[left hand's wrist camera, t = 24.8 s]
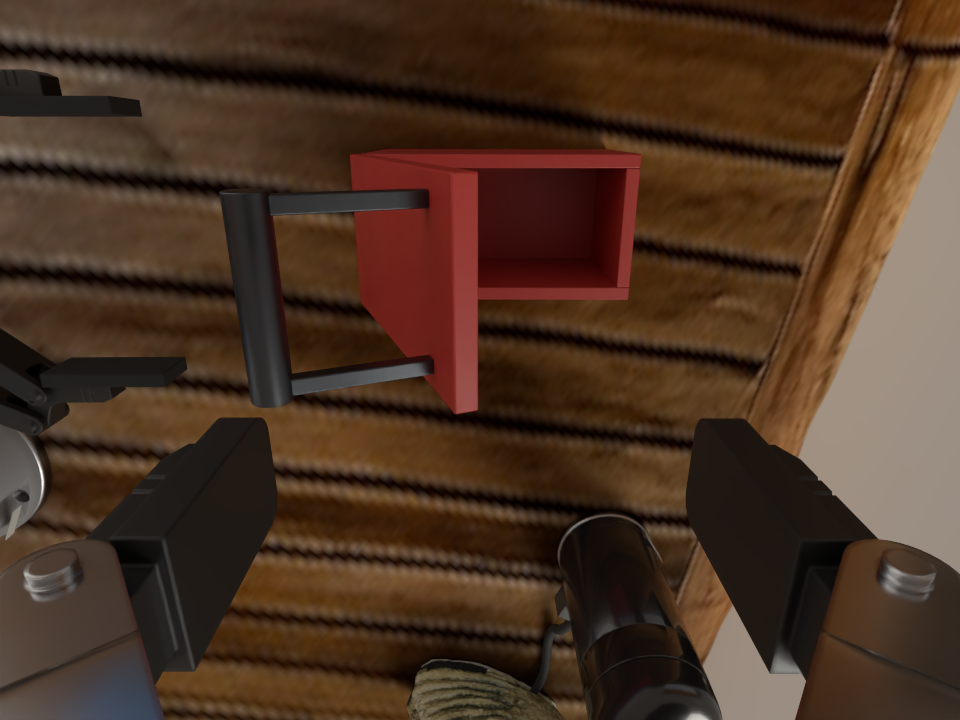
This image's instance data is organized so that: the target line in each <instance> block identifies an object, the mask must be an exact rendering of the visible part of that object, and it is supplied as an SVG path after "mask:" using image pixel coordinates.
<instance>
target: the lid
mask: <svg viewBox="0 0 960 720" xmlns="http://www.w3.org/2000/svg"><path fill="white" fill-rule="evenodd" d="M350 163H351V176H352V190H353V191H326V192H297V193H270V191H269V190H267V189H231V190H223V191H220V199H221V206H222V212H223V219H224V225H225V232H226V239H227V245H228V252H229V258H230V265H231V272H232V278H233V285H234V291H235V298H236V305H237V311H238V318H239V324H240V331H241V338H242V344H243V351H244V357H245V364H246V371H247V377H248V384H249V390H250V397H251V402H252V404H253V405H255V406H257V407H262V408H271V407H278V406H282V405H285V404H287V403H289V402H291V401H292V400H293V399H294V397H295V395H300V394H307V393H314V392H320V391H327V390H333V389H340V388H346V387H353V386H359V385H366V384H373V383H379V382H386V381H392V380H399V379H405V378H412V377H419V376H423V377H424V378H425V379H426V380H427V381H428V383H429V384H430V385H431V386H432V387H433V389H434V390H435V391H436V392H437V393H438V395H439V396H440V397H441V398H442V399H443V400H444V402H445V403H446V404H447V405H448V406H449V408H450V409H451V410H452V411H453V412H454V414H460V413H465V412H471V411H476V410H478V172H476V171H472V170H465V169H459V168H452V167H446V166H440V165H433V164H427V163H420V162H414V161H407V160H401V159H394V158H388V157H381V156H375V155H368V154H351V155H350ZM339 212H354V217H355V231H356V244H357V258H358V271H359V285H360V299H361V303H362V304H363V305H364V307H365V308H366V309H367V310H368V311H369V312H370V314H371V315H372V316H373V317H374V318H375V320H376V321H377V322H378V323H379V324H380V326H381V327H382V328H383V329H384V330H385V332H386V333H387V334H388V335H389V336H390V337H391V339H392V340H393V341H394V342H395V343H396V345H397V346H398V347H399V348H400V349H401V351H402V352H403V353H404V354H405V355H406V356H407V358H401V359H394V360H387V361H380V362H372V363H365V364H358V365H351V366H344V367H337V368H329V369H322V370H315V371H308V372H301V373H294V374H292V370H291V362H290V353H289V345H288V337H287V329H286V321H285V312H284V304H283V296H282V288H281V280H280V271H279V263H278V255H277V247H276V239H275V231H274V222H273V216H276V215H297V214H318V213H339Z"/></svg>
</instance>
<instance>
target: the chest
mask: <svg viewBox="0 0 960 720" xmlns="http://www.w3.org/2000/svg"><path fill="white" fill-rule="evenodd" d="M363 154H368V155H375V156H381V157H388V158H394V159H401V160H407V161H414V162H420V163H427V164H433V165H440V166H446V167H452V168H459V169H465V170H472V171H476V172H478V300H627V299H628V293H629V282H630V271H631V260H632V250H633V239H634V228H635V217H636V207H637V196H638V185H639V175H640V169H639V168H640V163H641V154H637V153H629V152H622V151H615V150H608V149H384V150H378V151H373V152H368V153H363Z"/></svg>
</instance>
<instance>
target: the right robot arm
mask: <svg viewBox="0 0 960 720" xmlns="http://www.w3.org/2000/svg"><path fill="white" fill-rule="evenodd" d="M0 116H142V113H141V107H140V102H139V100H134V99H126V98H119V97H112V96H62V93H61V89H60V84H59V79H58V77H55V76H53V75H50V74H48V73H43V72H37V71H32V70H0ZM186 370H187V365H186V359H185V357H87V358H70V359H68V360H66V361H64V362H62V363H60V364H58V365H56V364H54V363H53V362H51V361H50V360H48V359H47V358H45V357H44V356H42V355H41V354H39V353H37V352H36V351H34V350H33V349H31V348H30V347H28V346H27V345H25V344H24V343H22V342H21V341H19V340H17V339H16V338H14V337H13V336H11V335H10V334H8V333H7V332H5V331H4V330H2V329H1V328H0V537H1V536H3V535H6V534H7V535H6V539H8V538H9V537H10V536H11V535H12V534H13V533H14V531H15V529H16V528H18V527H19V526H21V525H22V524H24V523H25V522H26V521H27V520H29V519H30V518H31V517H32V516H33V515H34V514H36V513H37V512H38V511H39V510H40V509H41V507H42V506H43V505H44V503H45V502H46V500H47V498H48V495H49V492H50V488H51V479H52V477H51V468H50V463H49V460H48V456H47V454H46V452H45V449H44V447H43V446H42V444H41V442H40V440H39V439H38V437H37V436H36V435H38V434H40V433H42V432H43V431H45V430H46V429H48V428H49V427H51V426H52V425H54V424H55V423H57V422H58V421H60V420H61V419H62V418H64V417H65V416H67V415H68V414H69V406H68V404H67V403H66V402H105V401H108V400H110V399H113V398H114V397H115V396H117V395H118V394H120V393H121V392H122V391H124V390H125V389H126V388H125V387H165V386H166V385H168V384H169V383H170V382H172V381H173V380H174V379H175V378H177V377H178V376H179V375H180V374H182V373H183V372H184V371H186ZM6 539H5V540H6Z"/></svg>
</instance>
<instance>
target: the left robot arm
mask: <svg viewBox="0 0 960 720" xmlns="http://www.w3.org/2000/svg"><path fill="white" fill-rule="evenodd" d="M132 491H133V492H132V494H128V495H127V496H126V498H125V499H124V500H123V501H122V502H121V503H120V504H119V505H118V506H117V507H116V508H115V509H114V510H113V511H112V512H111V513H110V514H109V515H108V516H107V517H106V518H105V519H104V520H103V521H102V522H101V523H100V524H99V525H98V526H97V527H96V529H95V530H94V531H93V532H92V533H91V534H90V535H89V536H88V537H87V538H86V539H80V540H72V541H67V542H62V543H59V544H55V545H52V546H49V547H46V548H43V549H41V550H38V551H36V552H34V553H32V554H30V555H28V556H26V557H24V558H22V559H20V560H19V561H17V562H16V563H14V564H13V565H11V566H10V567H8V568H7V569H6V570H5V571H3V572H2V573H1V574H0V720H165V719H164V715H163V712H162V708H161V705H160V701H159V698H158V694H157V691H156V687H155V684H156V683H157V681H158V679H159V678H160V676H161V674H162V672H163V671H195V670H196V668H197V666H198V664H199V662H200V660H201V659H202V657H203V655H204V653H205V651H206V649H207V647H208V645H209V643H210V641H211V640H212V638H213V636H214V634H215V632H216V630H217V628H218V626H219V624H220V623H221V621H222V619H223V617H224V615H225V613H226V611H227V609H228V607H229V606H230V604H231V602H232V600H233V598H234V596H235V594H236V592H237V590H238V588H239V587H240V585H241V583H242V581H243V579H244V577H245V575H246V573H247V571H248V570H249V568H250V566H251V564H252V562H253V560H254V558H255V556H256V554H257V553H258V551H259V549H260V547H261V545H262V543H263V541H264V539H265V537H266V535H267V534H268V532H269V530H270V528H271V526H272V524H273V521H274V518H275V514H276V508H277V487H276V480H275V473H274V466H273V459H272V452H271V445H270V438H269V432H268V427H267V424H266V422H265V420H264V419H263V418H219V419H218V420H216V422H215V423H214V424H213V425H212V426H211V427H210V428H209V429H208V430H207V431H206V433H205V434H204V435H203V436H202V437H201V438H200V439H199V440H198V441H197V442H196V443H195V444H188V445H186V446H184V447H183V448H181V449H179V450H177V451H176V452H174V453H172V454H170V455H169V456H167V457H165V458H163V459H162V460H161V461H160V462H159V463H158V464H157V465H156V467H155V468H154V469H153V470H152V471H151V472H150V473H149V474H148V475H147V478H146V479H143V480H142V481H141V482H140V483H139V484H138V485H137V486H136V487H135V488H134V489H133V490H132ZM686 509H687V515H688V519H689V522H690V525H691V527H692V529H693V531H694V532H695V534H696V536H697V538H698V540H699V542H700V544H701V546H702V547H703V549H704V551H705V553H706V555H707V557H708V559H709V561H710V562H711V564H712V566H713V568H714V570H715V572H716V574H717V575H718V577H719V579H720V581H721V583H722V585H723V587H724V589H725V590H726V592H727V594H728V596H729V598H730V600H731V602H732V604H733V605H734V607H735V609H736V611H737V613H738V615H739V617H740V618H741V620H742V622H743V624H744V626H745V628H746V630H747V631H748V633H749V635H750V637H751V639H752V641H753V643H754V645H755V646H756V648H757V650H758V652H759V654H760V656H761V658H762V660H763V661H764V663H765V665H766V667H767V669H768V671H769V673H770V674H802V675H803V676H804V678H805V680H806V684H805V687H804V691H803V694H802V698H801V701H800V705H799V708H798V712H797V715H796V719H795V720H960V574H959V573H958V572H957V571H955V570H954V569H953V568H951V567H950V566H949V565H947V564H946V563H944V562H943V561H941V560H940V559H938V558H936V557H934V556H932V555H930V554H928V553H926V552H924V551H922V550H919V549H917V548H914V547H911V546H908V545H905V544H901V543H897V542H893V541H888V540H879V539H878V538H877V537H876V536H875V535H874V534H873V533H872V532H871V531H870V530H869V529H868V528H867V527H866V526H865V525H864V524H863V523H862V522H861V521H860V520H859V519H858V518H857V517H856V516H855V515H854V514H853V513H852V512H851V511H850V510H849V509H848V508H847V507H846V505H845V504H843V502H842V501H841V500H840V499H839V498H838V497H837V496H834V495H832V491H831V490H830V489H829V488H828V487H827V486H826V485H825V484H824V483H823V482H822V481H818V477H817V476H816V475H815V474H814V473H813V472H812V471H811V470H810V469H809V468H808V467H807V466H806V465H805V464H804V462H802V460H800V459H799V458H797V457H795V456H793V455H792V454H790V453H788V452H786V451H785V450H783V449H781V448H779V447H778V446H776V445H768V444H767V442H766V441H765V440H764V439H763V438H762V437H761V436H760V435H759V434H758V433H757V432H756V430H755V429H754V428H753V427H752V426H751V425H750V424H749V423H748V422H747V421H746V420H745V419H700V420H699V422H698V423H697V426H696V429H695V434H694V441H693V448H692V454H691V461H690V468H689V475H688V482H687V489H686ZM653 548H654V549H653ZM654 550H655V551H654ZM655 552H656V553H657V555H658V556H659V558H660V560H661V557H660V555H659V553H658V552H657V550H656V548H655V547H654V545H653V544H652V541H651V538H650V536H649V534H648V532H647V530H646V528H645V527H644V526H643V525H642V523H640V522H639V521H638V520H637V519H635V518H634V517H632V516H630V515H628V514H625V513H622V512H618V511H597V512H593V513H589V514H586V515H584V516H582V517H580V518H578V519H577V520H575V521H574V522H572V523H571V524H570V525H569V526H568V527H567V528H566V529H565V531H564V532H563V534H562V535H561V537H560V539H559V542H558V546H557V557H558V563H559V567H560V569H561V573H562V580H563V585H562V587H561V588H560V590H559V591H558V593H557V594H556V596H555V603H556V609H557V615H558V617H560V618H562V619H565V620H566V621H565V622H564V623H562V624H560V625H558V624H552V625H551V626H550V627H549V628H548V630H547V631H546V634H545V638H544V642H543V650H542V661H541V667H540V671H539V674H538V677H537V679H536V681H535V682H534V684H533V685H532V687H531V689H530V692H532V693H534V694H535V695H537V694H538V693H539V692H540V690H541V688H542V687H543V685H544V683H545V681H546V678H547V675H548V671H549V666H550V659H551V649H552V642H553V639H554V636H555V635H556V634H559V635H563V634H565V633H567V632H568V631H570V630H571V629H572V634H573V640H574V645H575V650H576V656H577V661H578V667H579V672H580V677H581V682H582V687H583V693H584V698H585V704H586V709H587V715H588V720H722V715H721V711H720V708H719V705H718V702H717V700H716V697H715V695H714V692H713V690H712V688H711V685H710V683H709V680H708V678H707V676H706V673H705V671H704V668H703V666H702V664H701V661H700V659H699V656H698V654H697V652H696V650H695V647H694V645H693V642H692V640H691V637H690V635H689V633H688V630H687V628H686V625H685V623H684V621H683V618H682V616H681V613H680V611H679V609H678V606H677V604H676V601H675V599H674V597H673V594H672V592H671V589H670V587H669V585H668V582H667V580H666V577H665V575H664V573H663V570H662V568H661V565H660V563H659V560H658V558H657V556H656V553H655ZM661 561H662V560H661ZM662 563H663V562H662Z"/></svg>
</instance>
